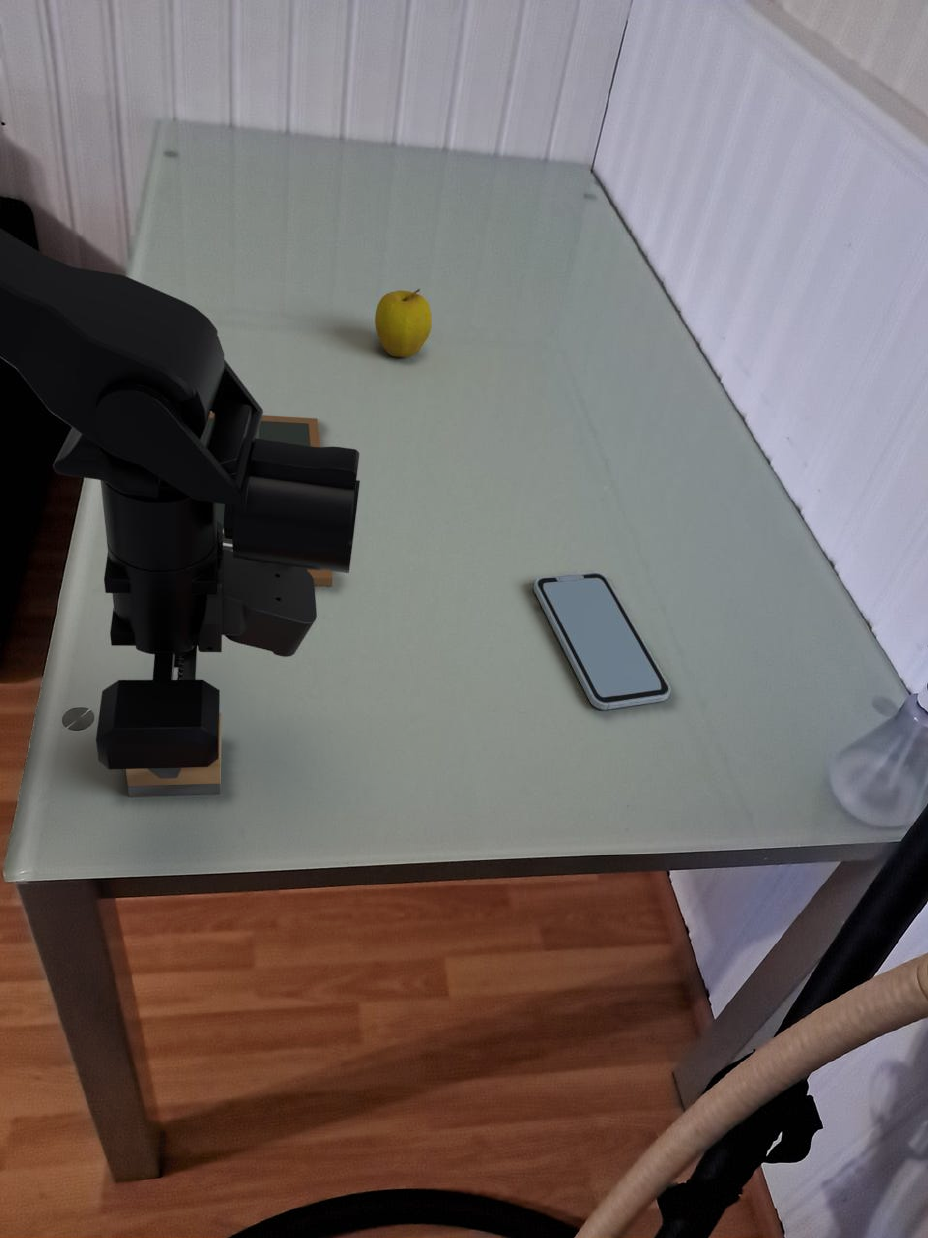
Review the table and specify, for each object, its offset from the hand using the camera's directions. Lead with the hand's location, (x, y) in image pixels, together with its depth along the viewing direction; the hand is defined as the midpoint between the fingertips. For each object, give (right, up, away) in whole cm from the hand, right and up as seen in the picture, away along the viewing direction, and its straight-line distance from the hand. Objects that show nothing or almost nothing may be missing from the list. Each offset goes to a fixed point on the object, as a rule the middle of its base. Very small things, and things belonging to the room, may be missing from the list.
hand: (172, 718), depth 63 cm
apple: (+11, +38, +50) cm, 64 cm away
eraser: (-1, -4, +4) cm, 6 cm away
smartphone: (+31, +5, +21) cm, 37 cm away
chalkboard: (-2, +18, +26) cm, 32 cm away
